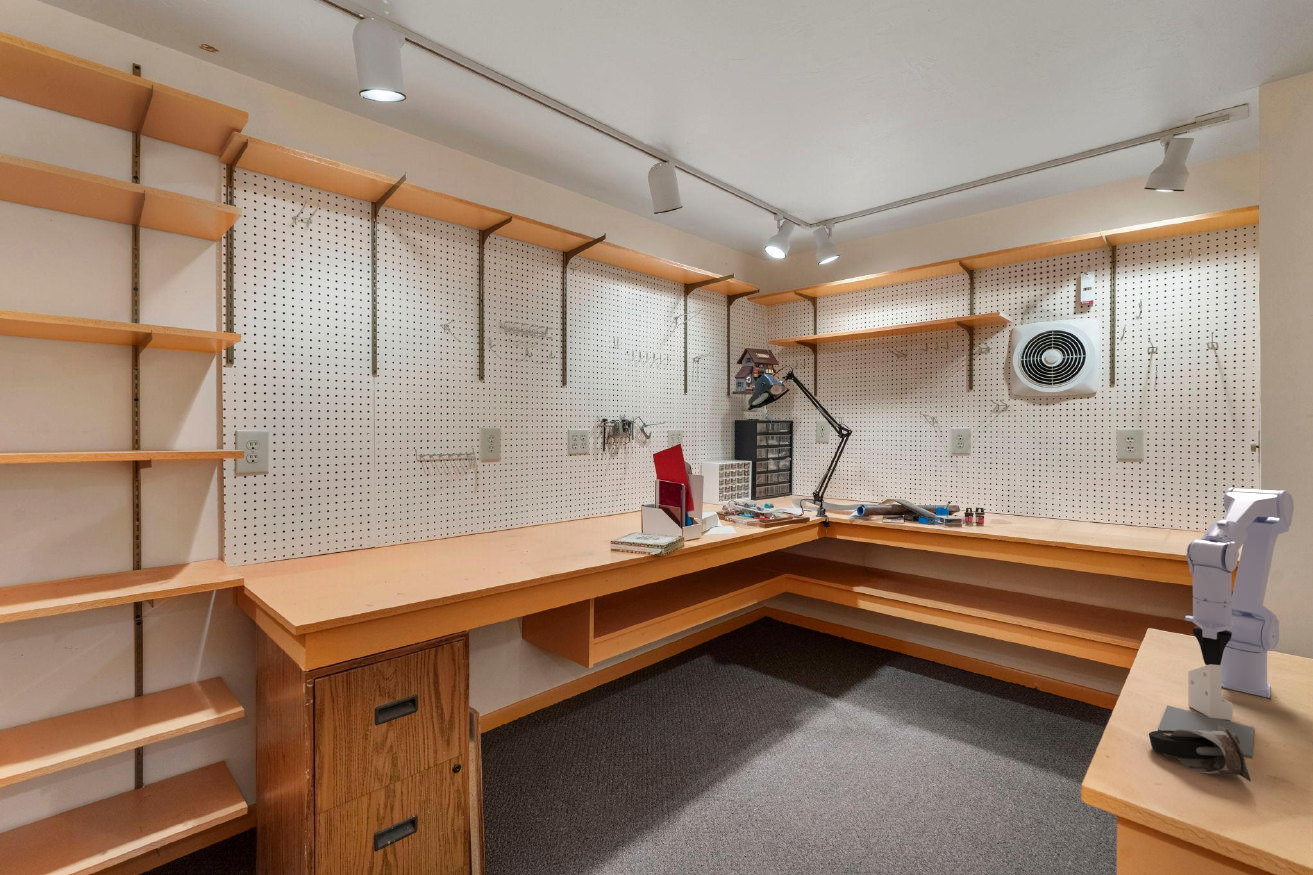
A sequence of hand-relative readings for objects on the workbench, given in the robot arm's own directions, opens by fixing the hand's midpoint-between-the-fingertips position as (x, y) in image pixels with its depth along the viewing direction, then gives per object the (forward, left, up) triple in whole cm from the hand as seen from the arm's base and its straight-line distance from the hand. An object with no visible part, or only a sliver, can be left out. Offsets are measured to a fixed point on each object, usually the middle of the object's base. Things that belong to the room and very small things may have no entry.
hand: (1212, 665), depth 116 cm
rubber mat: (+17, 0, -7) cm, 19 cm away
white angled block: (+8, 0, -7) cm, 11 cm away
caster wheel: (+33, -1, -8) cm, 34 cm away
